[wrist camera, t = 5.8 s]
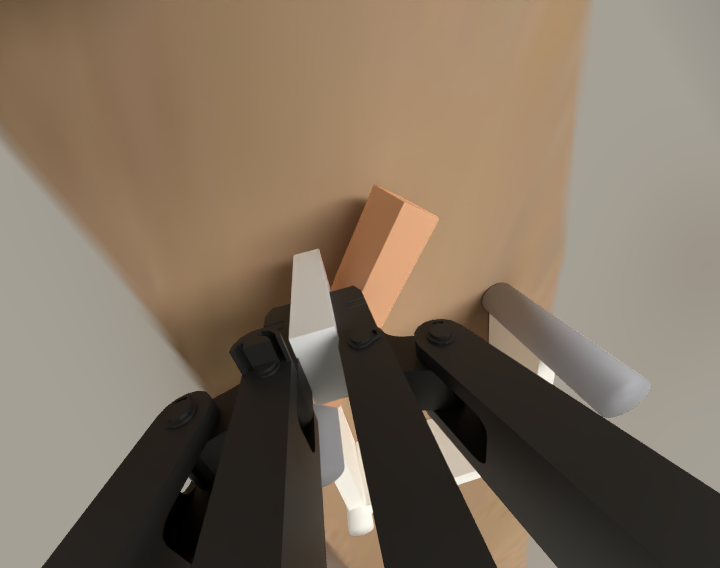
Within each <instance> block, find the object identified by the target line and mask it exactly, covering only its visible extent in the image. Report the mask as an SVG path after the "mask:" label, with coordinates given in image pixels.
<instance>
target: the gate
mask: <svg viewBox="0 0 720 568" xmlns="http://www.w3.org/2000/svg"><path fill="white" fill-rule="evenodd" d="M438 220H439V217H437V216H435V215H434V214H432V213H430V212H428V211H426V210H424V209H423V208H421V207H419V206H417V205H415V204H413V203H412V202H410V201H408V200H406V199H404V198H402V197H400V196H398V195H396V194H394V193H392V192H390V191H387V190H385V189H383V188H381V187H378V186H376V185H374V186H373V188H372V190H371V193H370V195H369V198H368V200H367V202H366V205H365V207H364V210H363V212H362V214H361V217H360V219H359V222H358V224H357V226H356V229H355V231H354V233H353V236H352V238H351V241H350V243H349V245H348V248H347V250H346V253H345V255H344V257H343V260H342V262H341V265H340V267H339V269H338V272H337V274H336V277H335V279H334V281H333V284H332V286H331V292H332V291H335V290H339V289H342V288H346V287H350V286H355V287H357V288H359V289H360V290H361V291H362V293H363V295H364V298H365V300H366V302H367V304H368V307H369V309H370V311H371V313H372V316H373V318H374V320H375V322H376V325H377V327H379V328H382V326H383V324H384V322H385V320H386V318H387V316H388V315H389V313H390V311H391V309H392V307H393V305H394V303H395V301H396V299H397V298H398V296H399V294H400V292H401V290H402V288H403V286H404V284H405V283H406V281H407V279H408V277H409V275H410V273H411V271H412V269H413V267H414V266H415V264H416V262H417V260H418V258H419V256H420V254H421V252H422V251H423V249H424V247H425V245H426V243H427V241H428V239H429V237H430V235H431V234H432V232H433V230H434V228H435V226H436V224H437V222H438ZM343 399H344V398H342V399H338V400H335V401H331V402H328V403H325V404H322V405H319V406H316V403H315V401H314V398H313V409H314V412H315V414H316V417H317V420H318V429H319V446H320V463H321V480H322V487H324V486H327V485H329V484H331V483H333V482H334V481H336V480H337V479H338V478H339V477H340V476H341V475H342V473H343V471H344V468H345V465H344V456H343V448H342V439H341V431H340V422H339V414H338V408H339V407H340V405H341V403H342V401H343Z"/></svg>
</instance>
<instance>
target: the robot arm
mask: <svg viewBox="0 0 720 568" xmlns="http://www.w3.org/2000/svg"><path fill="white" fill-rule="evenodd" d="M414 335H415V336H406V337H397V336H391V335H388V334H385V333H384V332H383V331H382V330H381V328H379V327H377V325H376V322H375V320H374V318H373V316H372V313H371V311H370V309H369V307H368V304H367V302H366V300H365V298H364V295H363V293H362V291H361V290H360V289H359V288H357V287H355V286H350V287H346V288H342V289H339V290H335V291H332V292H331V288H330V285H329V282H328V278H327V275H326V271H325V268H324V264H323V261H322V258H321V254H320V251H319V249H315V250H311V251H307V252H304V253H300V254H296V255H294V256H293V273H292V290H291V304H288V305H284V306H281V307H277V308H274V309H272V310H271V311H270V312H269V314H268V315H267V316H266V317H265V322H264V328H263V329H258V330H255V331H253V332H250V333H248V334H247V335H245V336H243V337H242V338H240V339H239V340H238V341H237V342H236V343H235V344H234V345H233V346H232V348H231V350H230V351H229V353H230V354H231V356H232V358H233V360H234V361H235V363H236V365H237V367H238V368H239V370H240V372H241V374H242V378H241V382H240V384H239V385H237V386H235V387H234V388H232V389H230V390H229V391H227V392H225V393H223V394H221V395H219V396H217V397H216V398H214V399H212V398H211V396H210V395H209V394H208V393H207V392H205V391H195V392H192V393H188V394H186V395H184V396H182V397H180V398H178V399H176V400H175V401H174V402H172V403H171V404H170V405H168V406H167V407H166V408H165V409H164V410H163V411H162V412H161V413H160V414H159V415H158V416H157V418H156V419H155V420H154V421H153V423H152V424H151V425H150V427H149V428H148V429H147V431H146V432H145V433H144V435H143V436H142V437H141V439H140V440H139V441H138V442H137V444H136V445H135V446H134V448H133V449H132V450H131V451H130V453H129V454H128V456H127V457H126V458H125V459H124V461H123V462H122V463H121V465H120V466H119V467H118V468H117V470H116V471H115V472H114V474H113V475H112V476H111V478H110V479H109V480H108V482H107V483H106V484H105V485H104V487H103V488H102V489H101V491H100V492H99V493H98V495H97V496H96V497H95V498H94V500H93V501H92V502H91V504H90V505H89V506H88V508H87V509H86V510H85V512H84V513H83V514H82V515H81V517H80V518H79V520H78V521H77V522H76V523H75V525H74V526H73V527H72V529H71V530H70V531H69V532H68V534H67V535H66V536H65V538H64V539H63V540H62V542H61V543H60V544H59V545H58V547H57V548H56V549H55V551H54V552H53V553H52V555H51V556H50V558H49V559H48V560H47V562H46V563H45V564H44V565H43V566H42V568H327V564H326V547H325V530H324V513H323V497H322V480H321V463H320V446H319V429H318V420H317V417H316V414H315V412H314V409H313V398H314V401H315V403H316V406H319V405H322V404H325V403H328V402H331V401H335V400H338V399H342V398H345V397H348V396H349V401H350V405H351V410H352V415H353V420H354V425H355V429H356V434H357V439H358V444H359V448H360V453H361V458H362V463H363V467H364V472H365V477H366V482H367V486H368V491H369V496H370V501H371V506H372V510H373V515H374V520H375V525H376V529H377V534H378V539H379V544H380V548H381V553H382V558H383V563H384V567H385V568H497V566H496V564H495V562H494V560H493V558H492V556H491V554H490V552H489V550H488V547H487V545H486V543H485V541H484V539H483V537H482V535H481V533H480V531H479V529H478V527H477V525H476V523H475V520H474V518H473V516H472V514H471V512H470V510H469V508H468V506H467V504H466V502H465V500H464V498H463V495H462V493H461V491H460V489H459V487H458V485H457V483H456V481H455V479H454V477H453V475H452V473H451V470H450V468H449V466H448V464H447V462H446V460H445V458H444V456H443V454H442V452H441V450H440V448H439V445H438V443H437V441H436V439H435V437H434V435H433V433H432V431H431V429H430V427H429V425H428V423H427V420H426V418H425V416H424V414H423V412H422V410H426V411H427V413H428V415H429V416H430V417H431V418H432V419H433V420H434V422H435V423H436V424H437V425H438V426H439V428H440V429H441V430H442V431H443V432H444V434H445V435H446V436H447V437H448V438H449V439H450V441H451V442H452V443H453V444H454V445H455V447H456V448H457V449H458V450H459V451H460V452H461V454H462V455H463V456H464V457H465V458H466V460H467V461H468V462H469V463H470V464H471V466H472V467H473V468H474V469H475V470H476V471H477V473H478V474H479V475H480V476H481V477H482V479H483V480H484V481H485V482H486V483H487V484H488V486H489V487H490V488H491V489H492V490H493V492H494V493H495V494H496V495H497V496H498V498H499V499H500V500H501V501H502V502H503V503H504V505H505V506H506V507H507V508H508V509H509V511H510V512H511V513H512V514H513V515H514V516H515V518H516V519H517V520H518V521H519V522H520V524H521V525H522V526H523V527H524V528H525V530H526V531H527V532H528V533H529V534H530V535H531V537H532V538H533V539H534V540H535V541H536V543H537V544H538V545H539V546H540V547H541V548H542V550H543V551H544V552H545V553H546V554H547V556H548V557H549V558H550V559H551V560H552V561H553V563H554V564H555V565H556V566H557V567H558V568H720V493H718V492H717V491H715V490H714V489H712V488H711V487H709V486H707V485H706V484H704V483H703V482H701V481H700V480H698V479H697V478H695V477H694V476H692V475H691V474H689V473H688V472H686V471H684V470H683V469H681V468H680V467H678V466H677V465H675V464H674V463H672V462H670V461H669V460H668V459H666V458H665V457H663V456H661V455H660V454H658V453H657V452H655V451H654V450H652V449H651V448H649V447H648V446H646V445H645V444H643V443H641V442H640V441H638V440H637V439H635V438H634V437H632V436H631V435H629V434H628V433H626V432H624V431H623V430H621V429H620V428H618V427H617V426H615V425H614V424H612V423H611V422H609V421H608V420H606V419H605V418H603V417H602V416H600V415H598V414H597V413H595V412H594V411H592V410H591V409H589V408H588V407H586V406H585V405H583V404H582V403H580V402H578V401H577V400H575V399H574V398H572V397H571V396H569V395H568V394H566V393H565V392H563V391H562V390H560V389H558V388H557V387H555V386H554V385H552V384H551V383H549V382H548V381H546V380H545V379H543V378H542V377H540V376H539V375H537V374H536V373H534V372H532V371H531V370H529V369H528V368H526V367H525V366H523V365H522V364H520V363H519V362H517V361H516V360H514V359H513V358H511V357H509V356H508V355H506V354H505V353H503V352H502V351H500V350H499V349H497V348H496V347H494V346H493V345H491V344H490V343H488V342H486V341H485V340H483V339H482V338H480V337H479V336H477V335H476V334H474V333H473V332H471V331H470V330H468V329H466V328H465V327H463V326H462V325H460V324H458V323H456V322H454V321H451V320H445V319H437V320H431V321H428V322H425V323H423V324H422V325H420V326H419V327H418V328H417V330H416V331H415V333H414ZM188 477H189V478H190V479H191V480H192V481H191V483H190V485H189V486H188V488H187V489H186V490H185V492H183V493H181V492H180V491H181V489H182V488H183V486H184V484H185V482H186V480H187V478H188Z"/></svg>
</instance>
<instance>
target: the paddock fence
mask: <svg viewBox="0 0 720 568" xmlns="http://www.w3.org/2000/svg"><path fill="white" fill-rule="evenodd" d="M482 305H483V307H484V309H485V310H486V311H488V312H489V343H490V344H491V345H493V346H494V347H496V348H497V349H499V350H500V351H502V352H503V353H505V354H506V355H508V356H509V357H511V358H513V359H514V360H516V361H517V362H519V363H520V364H522V365H523V366H525V367H526V368H528V369H529V370H531V371H532V372H534V373H536V374H537V375H539V376H540V377H542V378H543V379H545V380H546V381H548V382H549V383H551V384H552V385H553V380H554V375H555V374H556V375H557V376H559V378H561V379H562V380H563V381H564V382H565V383H566V384H567V385H568V386H569V387H570V388H571V389H573V390H574V391H575V392H576V393H577V394H578V395H579V396H580V397H581V398H582V399H583V400H585V401H586V402H587V403H588V404H589V405H590V406H591V407H592V408H593V409H595V411H597V412H598V413H599V414H600V415H601V416H602V417H606V418H611V417H616V416H619V415H622V414H624V413H626V412H628V411H629V410H631V409H633V408H634V407H636V406H637V405H638V404H639V403H640V402H642V401H643V400H644V398H645V397H646V396H647V394H648V393H649V391H650V388H651V384H650V382H649V381H648V380H647V379H646V378H644V377H643V376H641V375H640V374H638V373H637V372H635V371H634V370H632V369H631V368H630V367H628V366H626V365H625V364H624V363H622V362H621V361H619V360H618V359H616V358H615V357H614V356H612V355H611V354H609V353H608V352H606V351H605V350H603V349H602V348H600V347H599V346H597V345H596V344H595V343H593V342H592V341H590V340H589V339H587V338H586V337H584V336H583V335H582V334H580V333H579V332H577V331H576V330H574V329H573V328H571V327H570V326H568V325H567V324H566V323H564V322H563V321H561V320H560V319H558V318H557V317H555V316H554V315H552V314H551V313H550V312H548V311H547V310H545V309H544V308H542V307H541V306H539V305H538V304H536V303H535V302H534V301H532V300H531V299H529V298H528V297H526V296H525V295H523V294H522V293H520V292H519V291H518V290H516V289H515V288H513V287H512V286H510V285H509V284H507V283H498V284H495V285H493V286H492V287H490V288H489V289H488V290H487V291H486V292H485V294H484V296H483V299H482ZM338 414H339V422H340V431H341V439H342V448H343V456H344V465H345V468H344V471H343V473H342V475H341V476H340V477H339V478H338V479H337V480H336V481H334V482H335V484H336V486H337V488H338V490H339V492H340V494H341V496H342V498H343V500H344V501H345V503H346V508H347V517H348V527H349V533H350V534H351V535H354V536H359V535H364V534H366V533H368V532H370V531H371V530H372V529H373V527H374V525H373V519H372V514H371V513H372V512H373V510H372V506H371V501H370V496H369V491H368V486H367V482H366V477H365V472H364V467H363V463H362V458H361V453H360V448H359V444H358V441H356V442H355V441H354V439H353V436H352V433H351V431H350V428H349V425H348V423H347V420H346V418H345V415H344V412H343V410H342V407H341V405H340V407H339V408H338ZM427 423H428V425H429V427H430V429H431V431H432V433H433V435H434V437H435V439H436V441H437V443H438V445H439V448H440V450H441V452H442V454H443V456H444V458H445V460H446V462H447V464H448V466H449V468H450V470H451V473H452V475H453V477H454V479H455V481H456V483H457V485H459V484H462V483H465V482H468V481H471V480H474V479H477V478H480V477H481V476H480V475H479V474H478V473H477V471H476V470H475V469H474V468H473V467H472V466H471V464H470V463H469V462H468V461H467V460H466V458H465V457H464V456H463V455H462V454H461V452H460V451H459V450H458V449H457V448H456V447H455V445H454V444H453V443H452V442H451V441H450V439H449V438H448V437H447V436H446V435H445V434H444V432H443V431H442V430H441V429H440V428H439V426H438V425H437V424H436V423H435V422H434V420H433V419H432V418H431V419H427Z"/></svg>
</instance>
